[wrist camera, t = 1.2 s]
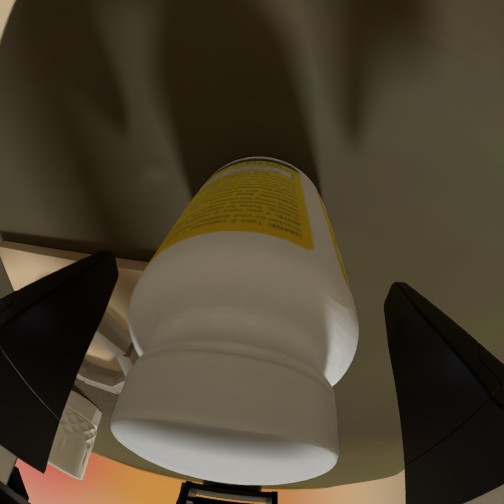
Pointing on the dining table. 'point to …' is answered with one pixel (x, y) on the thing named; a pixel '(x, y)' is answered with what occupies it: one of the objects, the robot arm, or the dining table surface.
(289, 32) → the dining table surface
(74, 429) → the white cup
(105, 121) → the dining table surface
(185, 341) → the supplement bottle
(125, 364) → the board
